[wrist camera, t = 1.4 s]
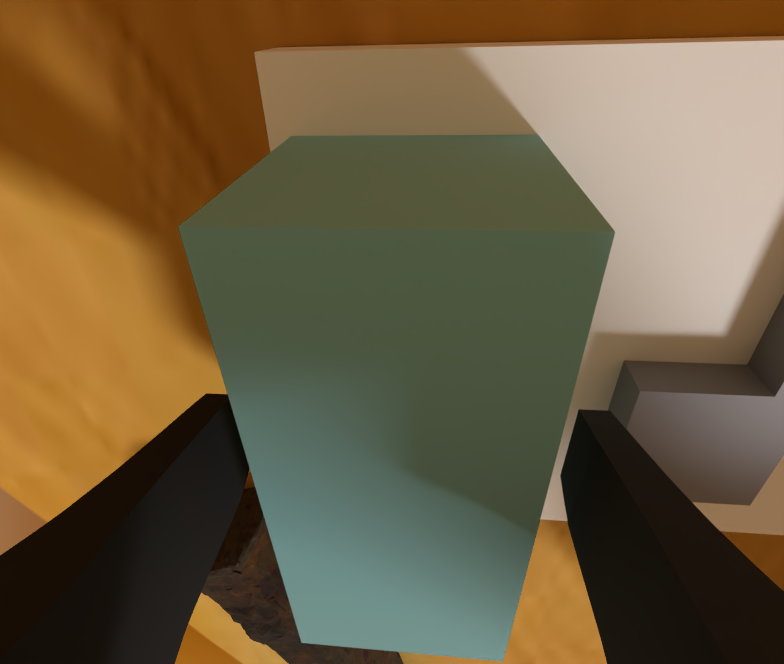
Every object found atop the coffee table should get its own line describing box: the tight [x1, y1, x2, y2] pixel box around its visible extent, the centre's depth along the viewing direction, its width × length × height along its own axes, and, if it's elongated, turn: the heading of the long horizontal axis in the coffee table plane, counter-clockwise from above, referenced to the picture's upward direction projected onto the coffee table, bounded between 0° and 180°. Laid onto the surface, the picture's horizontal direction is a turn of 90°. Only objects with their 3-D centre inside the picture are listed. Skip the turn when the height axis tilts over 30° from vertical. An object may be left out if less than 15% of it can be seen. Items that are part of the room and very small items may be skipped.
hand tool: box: [201, 487, 403, 664], centre depth 22 cm, size 19×4×5 cm, turn 21°
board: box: [254, 36, 784, 535], centre depth 13 cm, size 18×14×2 cm
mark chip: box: [608, 360, 784, 506], centre depth 12 cm, size 4×4×1 cm
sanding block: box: [178, 135, 615, 661], centre depth 10 cm, size 5×11×5 cm, turn 2°
